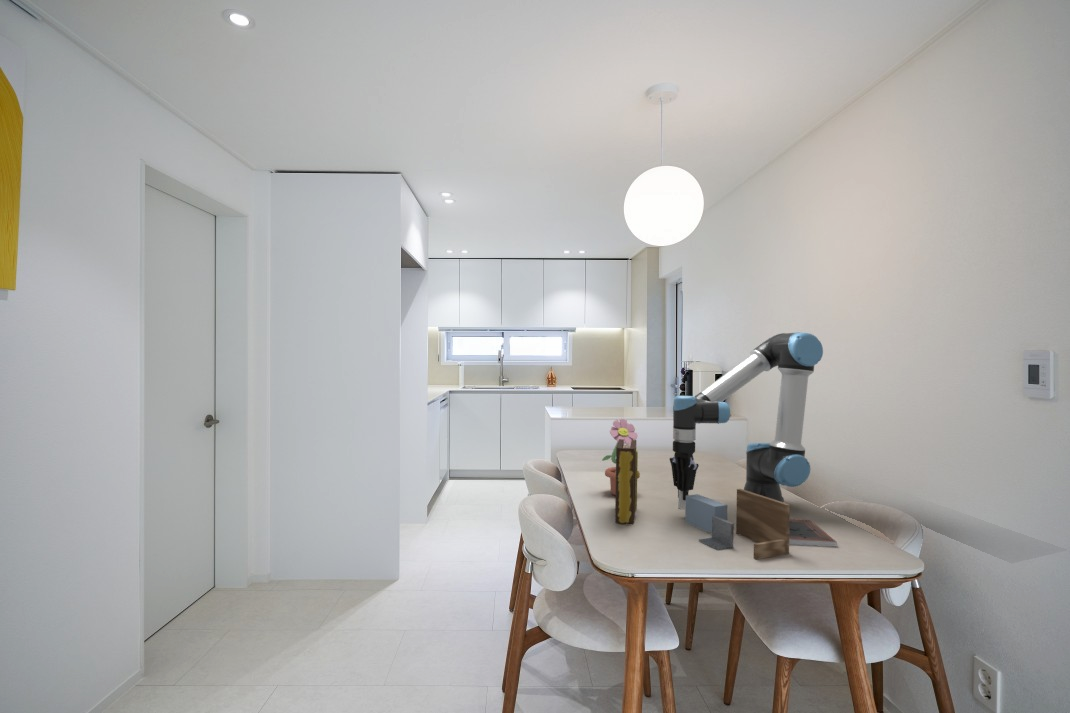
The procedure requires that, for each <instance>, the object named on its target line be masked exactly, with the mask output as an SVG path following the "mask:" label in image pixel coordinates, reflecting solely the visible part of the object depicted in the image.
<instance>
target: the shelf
mask: <svg viewBox="0 0 1070 713" xmlns="http://www.w3.org/2000/svg"><path fill="white" fill-rule="evenodd" d="M790 507H791V504H789V503H786V502H785V501H784V502H780V501H777V500H774V499H771V498H768V497H765V496H762V495H758V494H755V493H752V492H749V491H746V490H744V488H743V489H742V488H737V489H736V515H735V516H736V519H735V520H736V521H735V522H736V523H735V524H736V525H735V534H737V535H739V536H742V537H744V538H746V539H748V540H751V541H753V542H755V543H753V559H755V560H762V559H765V558H767V559H768V558H771V557H777V556H782V555H788V554H790V544H789V524H790V519H791V516H790V512H791V511H790V510H791V508H790Z"/></svg>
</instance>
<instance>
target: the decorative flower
mask: <svg viewBox="0 0 1070 713" xmlns="http://www.w3.org/2000/svg"><path fill="white" fill-rule="evenodd" d="M612 425H613V426H611V428H610V430H609V434H610V435H611V437H612V438H613V439H614V440H615V441H616V443H615V446H614V448H613V451H612V453H611V454H609V455H605V456H604V457H603V458H602V460H601V461H603V462H604V461H609V459H610V460H611V462H612V463H613V464H615V465H616V447H617V444H618V441H619V439H624V445H631V440H636V441H637V439H638V435H639V434H638V433H637V432H636V428H635V426H634V424H632V423H628V420H627V419H625V418H620V419H615V420H614V421H613V422H612ZM615 471H616V466H612V467H608V468H606V469H605V471H604V475H605V477H607V478H609V484H610V492H611V494H612V495H614V496H616V476H615ZM640 477H641V473H640V472H639V478H640Z"/></svg>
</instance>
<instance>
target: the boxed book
mask: <svg viewBox="0 0 1070 713" xmlns="http://www.w3.org/2000/svg"><path fill="white" fill-rule="evenodd" d="M684 510H685V511H684V512H685V516H684V517H685V518H684V519H685V520H684V522H685V523H686V522H687V523H686V524H689V525H691V526H694V527H695V528H698V529H700V530H702V531H704V532H707V533H709V534H711V535H712V516H716V517H719V518H721V519H723V520H726V521H728V504H725V503H722V502H720V501H717V500H715V499H712V498H709V497H706V496H705V495H701V494H698V493H696V494H688V495H686V509H684Z"/></svg>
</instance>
